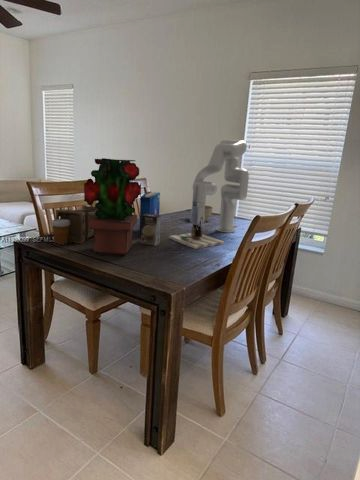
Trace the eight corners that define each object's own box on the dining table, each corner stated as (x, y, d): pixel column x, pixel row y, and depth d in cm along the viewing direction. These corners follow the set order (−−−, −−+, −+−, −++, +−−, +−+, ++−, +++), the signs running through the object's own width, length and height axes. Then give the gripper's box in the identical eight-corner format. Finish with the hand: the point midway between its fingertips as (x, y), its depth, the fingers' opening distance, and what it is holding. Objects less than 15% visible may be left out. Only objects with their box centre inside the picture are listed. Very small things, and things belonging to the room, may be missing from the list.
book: (149, 237, 195) (150, 195, 189) (137, 236, 197) (139, 194, 190) (158, 230, 216) (160, 191, 210) (148, 228, 217) (149, 190, 211)
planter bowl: (186, 219, 255) (187, 205, 252) (200, 217, 266) (201, 204, 263) (201, 223, 244) (202, 209, 241) (215, 221, 255) (217, 207, 252)
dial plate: (196, 234, 210) (197, 232, 210) (223, 243, 192) (224, 241, 192) (169, 238, 197) (169, 235, 196) (195, 248, 179) (195, 245, 178)
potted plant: (97, 244, 176) (97, 157, 164) (139, 247, 176) (141, 160, 164) (85, 256, 155) (83, 158, 143) (132, 260, 154) (134, 161, 143)
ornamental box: (92, 231, 212) (89, 203, 208) (116, 231, 206) (113, 202, 203) (56, 243, 179) (52, 209, 175) (84, 243, 174) (80, 209, 170)
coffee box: (140, 243, 183) (141, 215, 178) (145, 240, 188) (146, 213, 184) (155, 245, 180) (156, 217, 176) (160, 243, 186) (161, 215, 181)
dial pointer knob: (200, 236, 197) (201, 227, 195) (202, 239, 192) (203, 229, 191) (180, 236, 195) (180, 226, 193) (181, 238, 190) (182, 228, 189)
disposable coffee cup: (50, 245, 169) (49, 222, 166) (54, 240, 178) (53, 218, 175) (69, 245, 170) (68, 223, 167) (72, 240, 179) (71, 219, 176)
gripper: (187, 202, 195) (184, 232, 199) (199, 206, 180) (196, 239, 185) (198, 202, 198) (196, 231, 202) (211, 206, 183) (208, 238, 188)
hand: (196, 235), depth 194 cm, fingers closed on dial pointer knob, 3 cm apart
